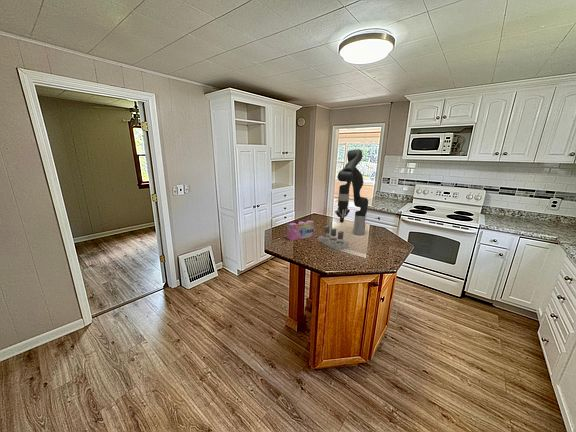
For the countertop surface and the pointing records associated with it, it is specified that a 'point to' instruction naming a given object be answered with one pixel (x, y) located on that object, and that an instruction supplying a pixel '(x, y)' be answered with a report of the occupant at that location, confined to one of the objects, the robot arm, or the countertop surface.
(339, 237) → the knob
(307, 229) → the gum box
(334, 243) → the mount plate
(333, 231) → the knob mid
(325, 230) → the knob
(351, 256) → the countertop surface
